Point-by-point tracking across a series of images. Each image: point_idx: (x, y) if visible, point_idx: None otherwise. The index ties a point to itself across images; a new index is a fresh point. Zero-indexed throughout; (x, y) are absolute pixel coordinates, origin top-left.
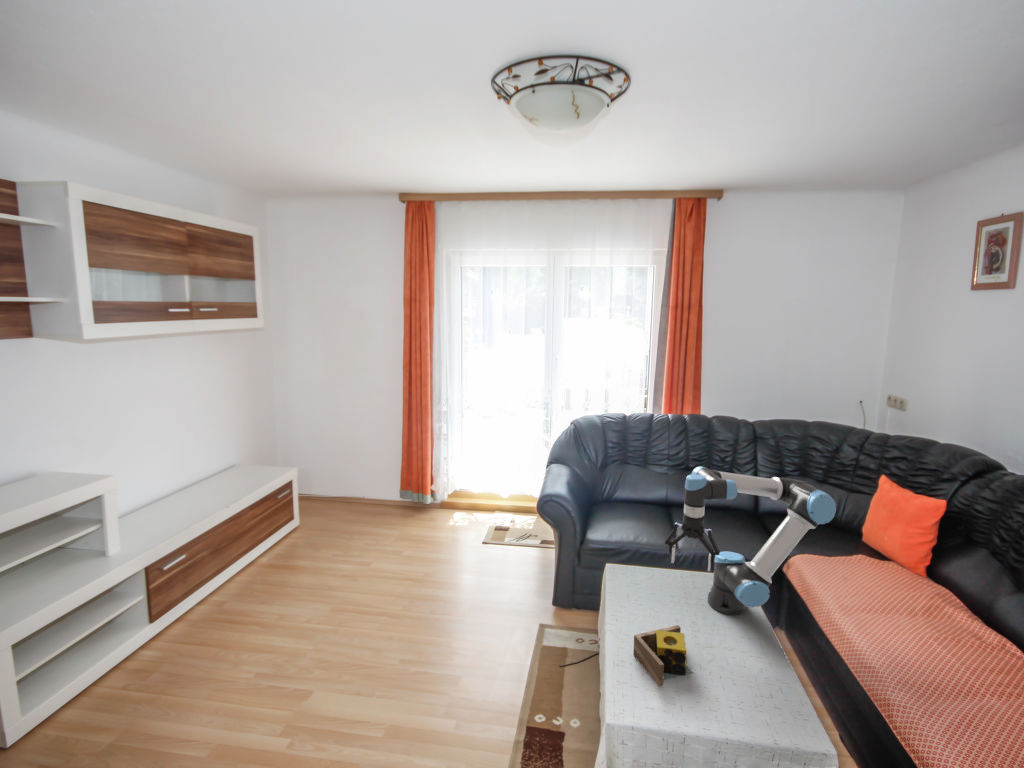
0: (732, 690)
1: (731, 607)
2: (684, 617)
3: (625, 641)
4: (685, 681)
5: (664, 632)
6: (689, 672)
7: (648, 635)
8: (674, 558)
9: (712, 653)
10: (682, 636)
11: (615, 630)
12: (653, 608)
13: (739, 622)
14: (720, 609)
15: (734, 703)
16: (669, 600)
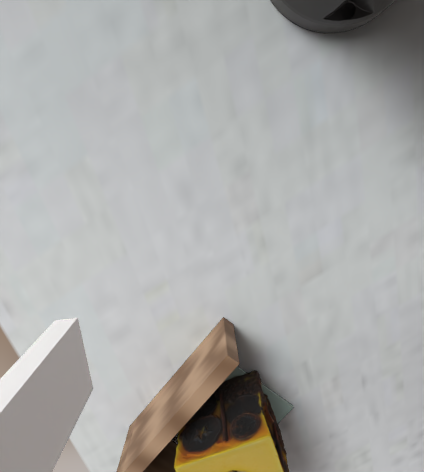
0: (397, 411)
1: (376, 8)
2: (202, 155)
3: None
4: None
5: (205, 465)
6: (286, 413)
7: (153, 457)
8: (68, 336)
9: (329, 299)
10: (269, 454)
11: None
12: (83, 165)
13: (396, 62)
14: (324, 28)
15: (404, 447)
16: (114, 66)
